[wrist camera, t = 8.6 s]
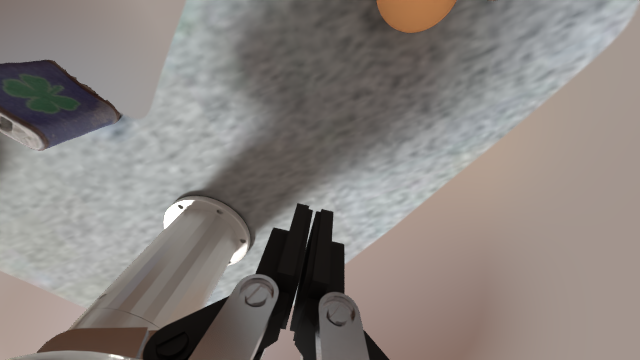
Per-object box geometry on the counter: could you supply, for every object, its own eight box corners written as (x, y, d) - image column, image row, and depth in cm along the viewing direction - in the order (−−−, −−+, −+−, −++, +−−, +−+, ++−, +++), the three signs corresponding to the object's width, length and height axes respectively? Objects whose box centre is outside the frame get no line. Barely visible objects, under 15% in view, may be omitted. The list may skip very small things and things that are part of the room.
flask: (124, 111, 30) (23, 147, 21) (116, 129, 32) (17, 169, 23) (45, 52, 28) (-107, 64, 19) (40, 73, 29) (-105, 94, 20)
